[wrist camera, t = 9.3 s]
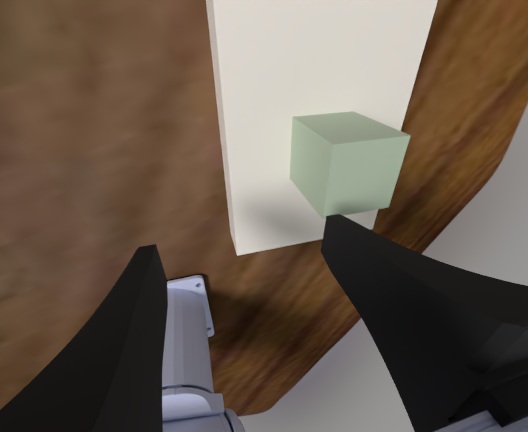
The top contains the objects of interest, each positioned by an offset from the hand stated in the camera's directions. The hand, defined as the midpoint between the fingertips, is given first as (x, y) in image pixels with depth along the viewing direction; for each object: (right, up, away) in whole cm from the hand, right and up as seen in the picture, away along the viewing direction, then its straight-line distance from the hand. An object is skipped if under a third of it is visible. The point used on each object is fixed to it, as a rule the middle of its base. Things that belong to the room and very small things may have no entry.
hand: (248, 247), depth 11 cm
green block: (+4, +6, +6) cm, 9 cm away
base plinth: (+3, +7, +8) cm, 12 cm away
